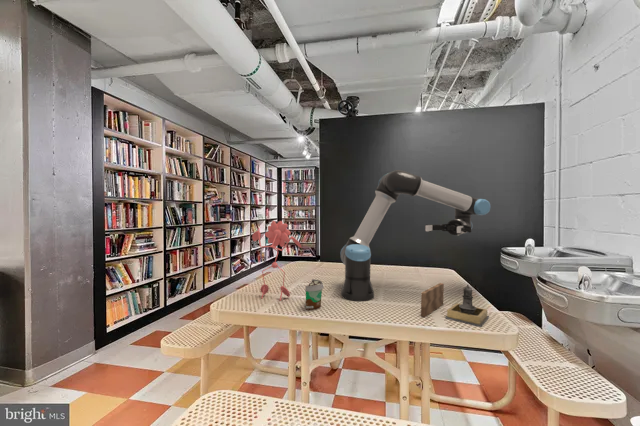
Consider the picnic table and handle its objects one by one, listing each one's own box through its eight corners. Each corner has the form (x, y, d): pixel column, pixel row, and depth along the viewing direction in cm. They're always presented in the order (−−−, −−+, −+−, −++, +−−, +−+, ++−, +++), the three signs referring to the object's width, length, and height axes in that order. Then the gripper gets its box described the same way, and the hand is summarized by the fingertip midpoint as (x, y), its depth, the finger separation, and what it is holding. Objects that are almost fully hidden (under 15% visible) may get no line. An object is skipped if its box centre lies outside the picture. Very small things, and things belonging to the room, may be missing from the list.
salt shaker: (455, 313, 113) (456, 282, 113) (470, 313, 113) (470, 282, 113) (464, 319, 107) (464, 286, 107) (479, 319, 108) (480, 286, 107)
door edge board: (424, 317, 111) (425, 293, 111) (421, 316, 112) (421, 292, 112) (443, 304, 126) (443, 283, 126) (439, 303, 127) (440, 282, 127)
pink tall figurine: (296, 303, 125) (298, 221, 125) (244, 297, 133) (245, 220, 134) (309, 294, 140) (310, 221, 140) (262, 289, 148) (263, 220, 148)
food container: (320, 312, 115) (320, 287, 115) (305, 311, 116) (305, 286, 116) (325, 302, 127) (326, 279, 127) (312, 301, 128) (312, 278, 128)
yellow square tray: (480, 327, 102) (481, 318, 102) (445, 318, 110) (445, 310, 110) (489, 317, 111) (489, 309, 111) (455, 310, 119) (455, 302, 119)
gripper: (484, 236, 138) (472, 239, 122) (431, 233, 154) (414, 235, 138) (484, 220, 138) (472, 221, 122) (431, 218, 154) (414, 219, 138)
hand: (441, 229), depth 130 cm, fingers open, 13 cm apart
